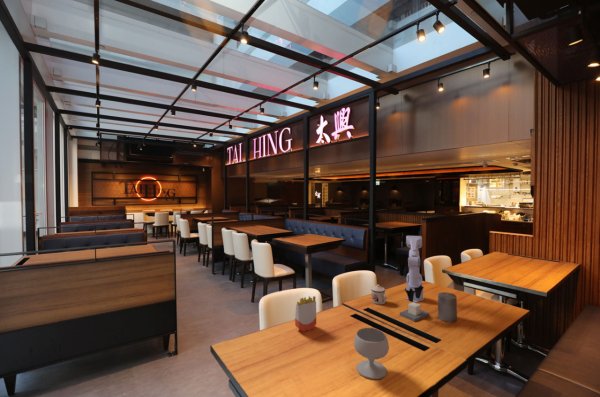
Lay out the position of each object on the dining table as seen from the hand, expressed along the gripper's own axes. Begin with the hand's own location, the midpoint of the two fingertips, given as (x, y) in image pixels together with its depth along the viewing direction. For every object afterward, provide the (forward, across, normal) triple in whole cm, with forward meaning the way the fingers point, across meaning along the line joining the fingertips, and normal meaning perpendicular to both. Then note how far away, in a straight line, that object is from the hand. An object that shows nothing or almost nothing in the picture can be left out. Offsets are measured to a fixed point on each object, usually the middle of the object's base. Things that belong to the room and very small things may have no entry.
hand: (414, 299), depth 164 cm
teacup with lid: (+10, +1, -24) cm, 26 cm away
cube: (+8, 0, 0) cm, 8 cm away
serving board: (+9, 0, 0) cm, 9 cm away
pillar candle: (+10, -11, +14) cm, 20 cm away
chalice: (+10, +61, +16) cm, 64 cm away
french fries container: (+10, +61, -28) cm, 68 cm away
